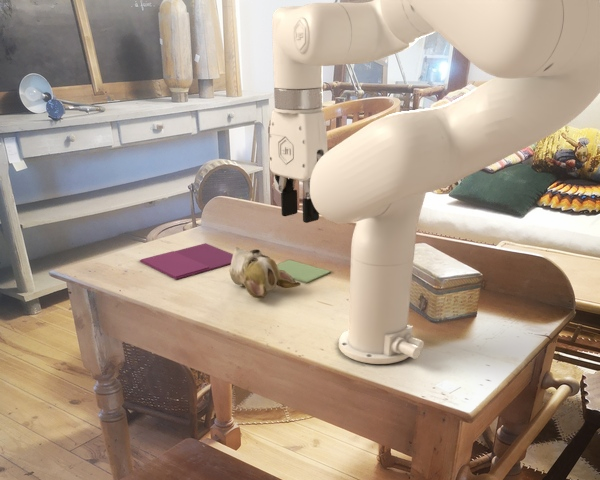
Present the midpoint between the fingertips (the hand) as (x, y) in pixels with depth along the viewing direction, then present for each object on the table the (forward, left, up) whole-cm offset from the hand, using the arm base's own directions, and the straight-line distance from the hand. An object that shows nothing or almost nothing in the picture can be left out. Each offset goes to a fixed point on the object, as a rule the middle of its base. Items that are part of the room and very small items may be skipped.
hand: (300, 216), depth 103 cm
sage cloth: (+16, -13, -17) cm, 27 cm away
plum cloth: (+38, 0, -17) cm, 42 cm away
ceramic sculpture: (+13, 0, -18) cm, 22 cm away
